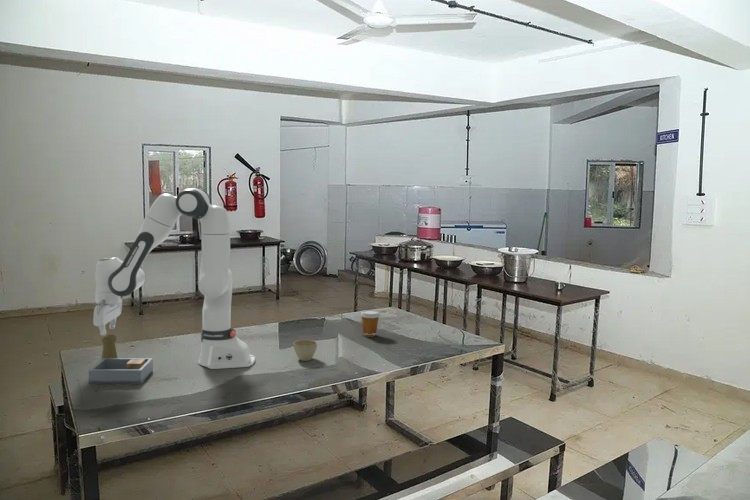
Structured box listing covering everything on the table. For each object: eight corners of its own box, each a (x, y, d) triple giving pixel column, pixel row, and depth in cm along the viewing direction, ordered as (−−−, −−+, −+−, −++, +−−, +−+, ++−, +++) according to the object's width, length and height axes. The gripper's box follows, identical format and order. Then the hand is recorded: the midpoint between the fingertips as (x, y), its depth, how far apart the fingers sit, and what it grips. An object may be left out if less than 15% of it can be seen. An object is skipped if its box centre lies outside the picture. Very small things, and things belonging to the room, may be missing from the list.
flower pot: (321, 357, 236) (321, 341, 235) (308, 364, 227) (309, 347, 226) (301, 354, 240) (301, 338, 239) (288, 360, 231) (288, 343, 230)
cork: (111, 364, 218) (110, 337, 216) (97, 363, 219) (97, 336, 217) (121, 360, 223) (120, 333, 222) (108, 358, 225) (107, 332, 223)
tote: (152, 370, 212) (152, 358, 212) (141, 383, 198) (141, 370, 198) (104, 370, 210) (103, 358, 210) (89, 383, 197) (88, 370, 196)
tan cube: (145, 372, 208) (144, 359, 207) (140, 376, 203) (140, 363, 202) (131, 372, 207) (131, 359, 206) (126, 376, 202) (126, 363, 202)
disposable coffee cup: (378, 338, 269) (379, 314, 268) (359, 337, 269) (360, 313, 268) (379, 333, 278) (379, 310, 277) (360, 332, 279) (361, 309, 277)
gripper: (106, 303, 208) (106, 339, 210) (124, 293, 228) (124, 325, 230) (88, 302, 207) (88, 338, 209) (109, 292, 228) (109, 325, 229)
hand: (107, 331), depth 220 cm, fingers open, 8 cm apart
